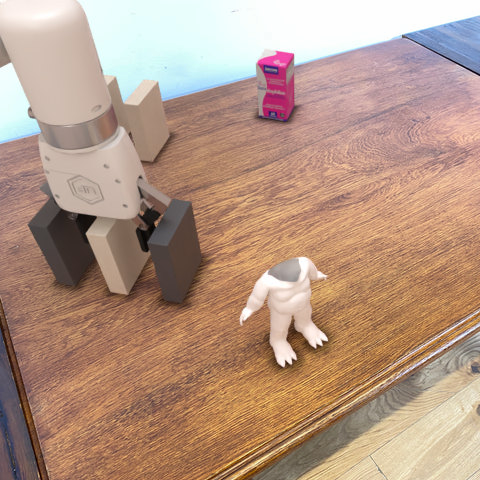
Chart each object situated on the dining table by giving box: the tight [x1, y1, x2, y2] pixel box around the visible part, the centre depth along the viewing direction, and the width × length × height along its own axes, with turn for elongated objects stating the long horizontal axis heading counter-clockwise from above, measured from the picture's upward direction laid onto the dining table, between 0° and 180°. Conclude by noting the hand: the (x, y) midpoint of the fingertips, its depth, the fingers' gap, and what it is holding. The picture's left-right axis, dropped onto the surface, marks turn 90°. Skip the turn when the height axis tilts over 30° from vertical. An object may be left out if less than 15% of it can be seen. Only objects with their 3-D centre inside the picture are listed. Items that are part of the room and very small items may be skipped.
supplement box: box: [255, 48, 295, 122], centre depth 96 cm, size 6×6×12 cm
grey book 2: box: [147, 198, 203, 304], centre depth 66 cm, size 2×8×11 cm, turn 170°
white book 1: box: [104, 74, 131, 135], centre depth 88 cm, size 2×8×11 cm, turn 170°
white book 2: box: [86, 211, 151, 296], centre depth 67 cm, size 2×8×11 cm, turn 170°
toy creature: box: [239, 256, 329, 368], centre depth 59 cm, size 12×6×12 cm, turn 126°
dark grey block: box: [27, 197, 96, 287], centre depth 68 cm, size 2×8×11 cm, turn 170°
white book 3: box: [123, 79, 171, 163], centre depth 87 cm, size 2×8×11 cm, turn 170°
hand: (121, 239), depth 66 cm, fingers open, 7 cm apart
